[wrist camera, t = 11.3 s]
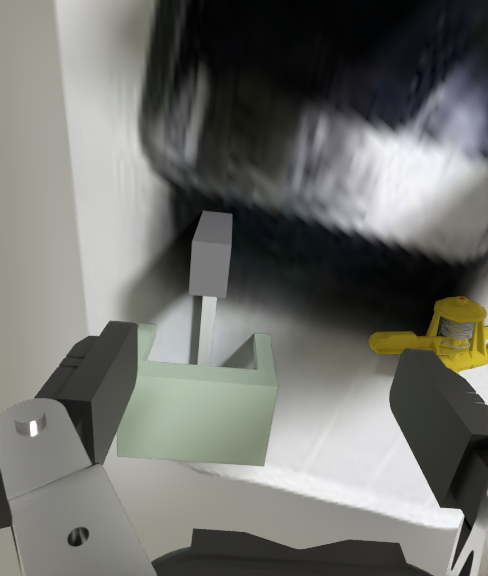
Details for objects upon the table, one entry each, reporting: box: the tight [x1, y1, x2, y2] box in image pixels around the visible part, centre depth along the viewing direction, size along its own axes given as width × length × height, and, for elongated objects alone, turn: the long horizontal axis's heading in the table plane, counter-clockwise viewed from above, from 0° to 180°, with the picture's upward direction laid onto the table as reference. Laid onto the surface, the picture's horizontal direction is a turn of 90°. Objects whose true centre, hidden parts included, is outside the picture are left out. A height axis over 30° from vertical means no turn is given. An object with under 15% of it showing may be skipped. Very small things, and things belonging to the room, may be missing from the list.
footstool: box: [117, 323, 278, 466], centre depth 34 cm, size 12×8×8 cm, turn 84°
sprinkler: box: [368, 296, 488, 374], centre depth 37 cm, size 19×4×15 cm
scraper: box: [189, 211, 232, 366], centre depth 31 cm, size 6×16×9 cm, turn 174°
